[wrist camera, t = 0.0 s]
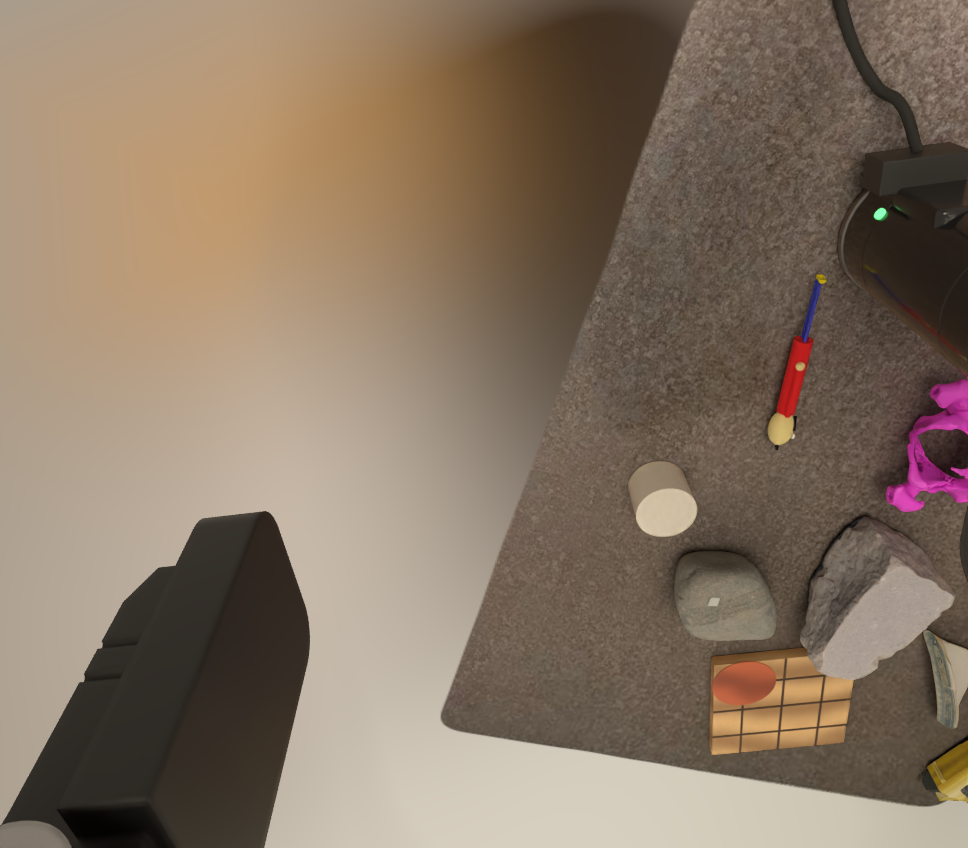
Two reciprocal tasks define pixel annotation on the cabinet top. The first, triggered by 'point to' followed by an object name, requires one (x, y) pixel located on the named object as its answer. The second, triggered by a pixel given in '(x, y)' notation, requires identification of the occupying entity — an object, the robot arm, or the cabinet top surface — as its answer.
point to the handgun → (949, 775)
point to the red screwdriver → (794, 377)
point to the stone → (723, 597)
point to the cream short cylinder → (662, 499)
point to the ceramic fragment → (948, 676)
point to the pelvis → (962, 412)
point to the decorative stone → (869, 599)
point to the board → (774, 702)
